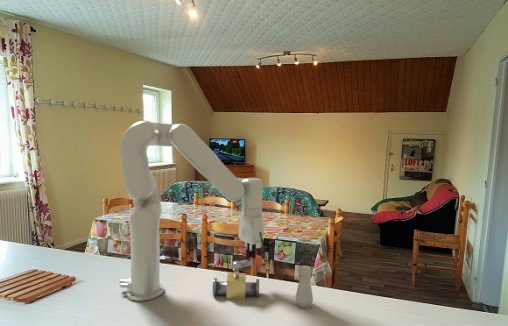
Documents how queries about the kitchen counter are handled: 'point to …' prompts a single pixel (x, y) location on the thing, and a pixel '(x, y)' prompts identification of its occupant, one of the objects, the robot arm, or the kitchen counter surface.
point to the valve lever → (247, 262)
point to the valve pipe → (236, 286)
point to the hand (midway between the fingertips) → (250, 259)
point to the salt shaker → (304, 288)
